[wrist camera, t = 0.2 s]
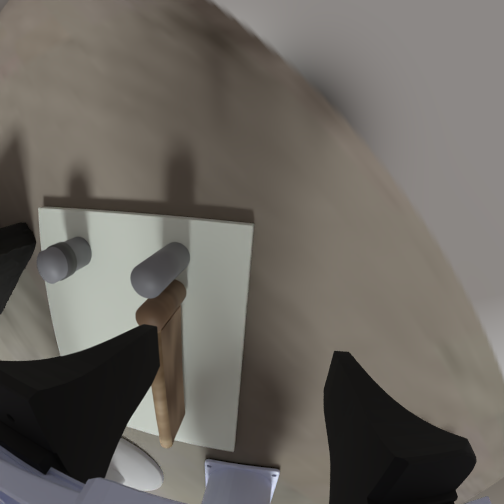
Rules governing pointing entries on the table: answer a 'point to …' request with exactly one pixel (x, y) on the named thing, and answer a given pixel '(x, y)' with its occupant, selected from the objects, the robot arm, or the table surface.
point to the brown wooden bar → (167, 358)
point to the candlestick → (134, 468)
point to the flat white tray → (150, 286)
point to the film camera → (13, 257)
